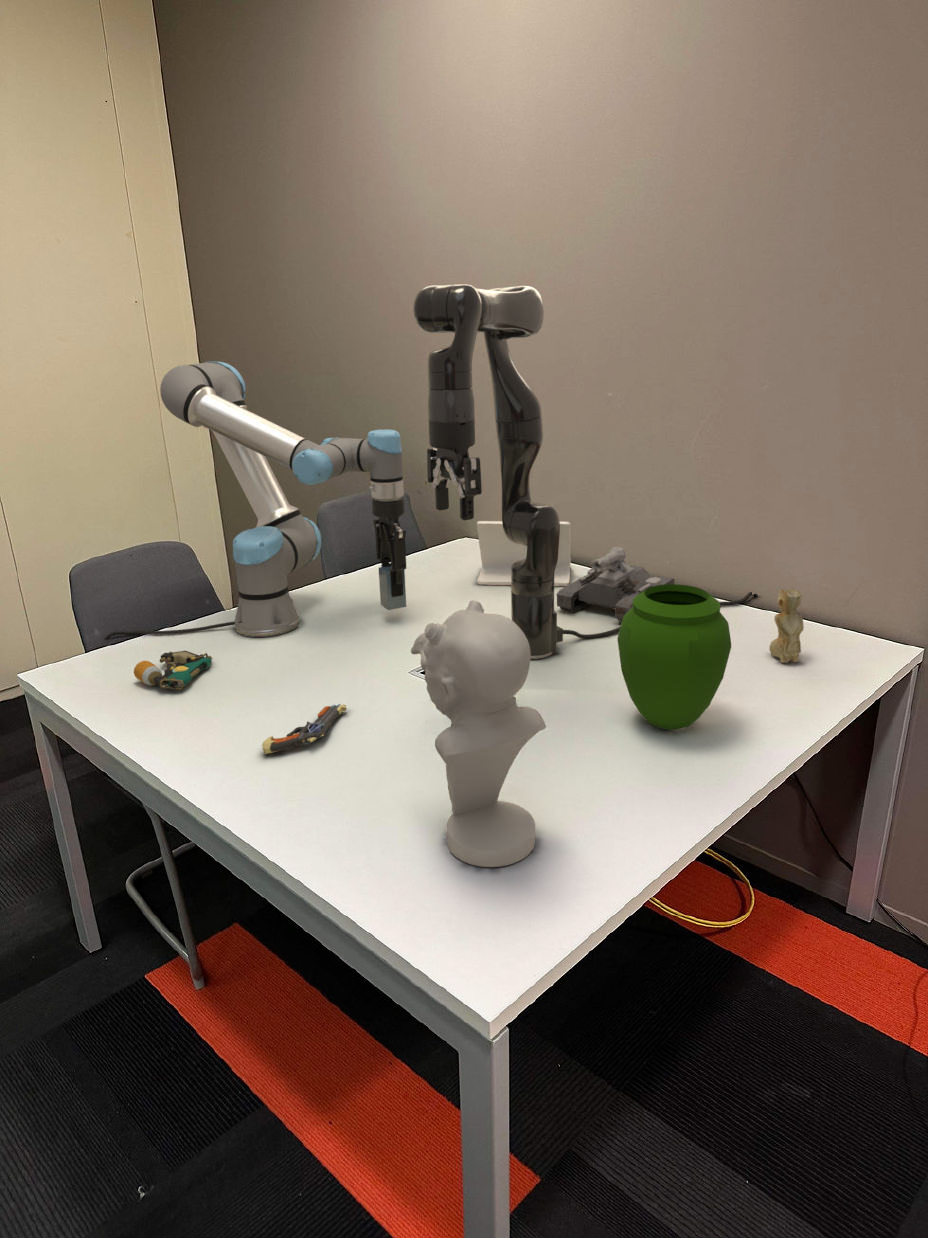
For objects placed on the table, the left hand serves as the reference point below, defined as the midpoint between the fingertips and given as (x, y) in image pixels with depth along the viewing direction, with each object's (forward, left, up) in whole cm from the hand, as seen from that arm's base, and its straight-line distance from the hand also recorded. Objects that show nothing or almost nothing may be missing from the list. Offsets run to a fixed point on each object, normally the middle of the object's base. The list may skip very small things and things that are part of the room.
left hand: (393, 592), depth 207 cm
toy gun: (-3, -59, -7) cm, 59 cm away
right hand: (+25, -52, +32) cm, 66 cm away
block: (0, 0, -3) cm, 3 cm away
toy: (+54, +14, -7) cm, 56 cm away
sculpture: (+88, -17, -7) cm, 90 cm away
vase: (+62, -48, -7) cm, 79 cm away
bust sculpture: (+31, -86, -7) cm, 92 cm away
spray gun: (-39, -37, -7) cm, 54 cm away
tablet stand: (+29, +37, -7) cm, 47 cm away
